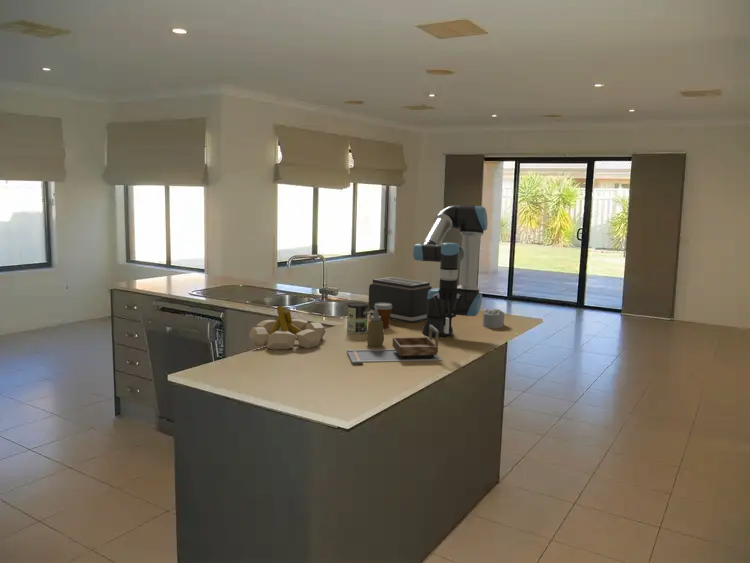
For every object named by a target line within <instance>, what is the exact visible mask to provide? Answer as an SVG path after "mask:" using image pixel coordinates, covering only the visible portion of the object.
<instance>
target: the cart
mask: <svg viewBox="0 0 750 563" xmlns="http://www.w3.org/2000/svg"><path fill="white" fill-rule="evenodd" d="M432 330H433V331H434V332H435V333H436V337H435V341H432V337H433V336H432ZM439 338H440V337H439V331H438V330H437V329H436V328H435V327H434V326H433V325H429V336H428V337H427V336H425V337H421V336H420V337H419V336H418V337H416V336H415V337H392V347H393V349H395V350H396V351H397V353H398V354H399V355H400V356H402V358H403V359H407V357H408V355H427V357H428V358H429V359H431V358H432V357H433V355H437V356H438V353H439ZM434 342H435V343H434Z"/></svg>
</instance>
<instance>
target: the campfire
mask: <svg viewBox="0 0 750 563" xmlns="http://www.w3.org/2000/svg"><path fill="white" fill-rule="evenodd" d="M276 311H277V317H275V319H267V320H266V319H265V320H262V321H260V322H258V323H257V324H256V326H255V327H251V330H250V331H249V334H248V337H249V338H250V340H251V341H252V343H253V344H254V346H256V347H264V346H265V347H266V349H269V350H276V349H287V350H289V349H291V348H293V347H294V345H295V341H296V339H297V341H298V344H299V346H300V347H301V348H304V349H311V347H312V348H316V347H318V346H319V344H320V342H321V340H323V338H324V336H325V334H326V329H325V327H324V325H322V324H321V323H320V322H319V321H317V322H308V320H305V319H301V318H292V315H291V314H292V313H291V309H290V308H288V307H284V306H282V305H278V306H276ZM315 346H316V347H315Z"/></svg>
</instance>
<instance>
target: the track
mask: <svg viewBox="0 0 750 563" xmlns="http://www.w3.org/2000/svg"><path fill="white" fill-rule="evenodd" d="M347 353H348V354H347ZM346 354H347V356H348V358H349V361H350V360H351V361H350V363H351V362H352V363H351V365H352V364H363V365H364V363H390V362H392V363H393V362H395V363H396V362H400V363H401V362H429V361H430V362H432V361H433V362H434V361H435V362H437V361H440V362H442V361H443V359H442V358H440V356H439V355H438V354H437V355H433V357H432V358H431V359H429V358H428V357H427V355H408V357H407V359H403V358H402V356H400V355H399V354H398V353H397V351H396V350H395V349H394V348H389V349H388V348H385V349H384V348H383V349H382V348H381V349H377V348H376V349H347V350H346Z"/></svg>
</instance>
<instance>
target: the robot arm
mask: <svg viewBox="0 0 750 563" xmlns="http://www.w3.org/2000/svg"><path fill="white" fill-rule="evenodd" d="M487 213H488V212H487V210H486V208H485V207H484V206H482V205H463V204H461V205H457V204H454V205H453V204H452V205H450V206H447V207H445V208H443V209H441V210H440V211H439V212H437V214H436V215H435V216H434V217H433V220H432V225H431V227H430V230H429V232H428V233H427V235H426V237H424V238H425V239H424V240H423V242H422V243H416V244H414V246H413V251H412V254H413V255H412V256H413V259H414V260H415V261H420V262H435V263H440V267H439V268H440V269H439V278H440V279H439V287H435V288H432V289H430V290H429V291H428V297H427V318H426V320H424V323H423V324H424V325H423V327H422V334H423V335H425V336H428V337H429V325H433V326H434V327H435V328H436V329H437V330H438V331H439V337H438V338H442V337H443V338H446V337H451V336H452V335H454V334H453V333H454V330H453V326H452V319H453V318H456V316H466V317H477V315H478V314H479V312H480V309H481V306H482V301H483V294H482V293H481V292H480V288H479V287H478V286H477V281H478V267H479V257H480V256H479V254H480V242H481V237H482V236H483V235H484V232H485V231H488V230H487V229H488V224H489V222H488V214H487ZM451 229H452V230H453V229H455V230H459V234H460V235H461V237H462V239H461V245H459V243H456V242H443V241H444V238H445V236H446V234H447V232H449V231H451ZM459 263H460V264H459ZM458 269H459V270H458ZM458 272H459V279H458ZM457 279H458V280H457ZM432 337H435V338H436V333H435V332H434V331H433V330H432Z"/></svg>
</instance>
